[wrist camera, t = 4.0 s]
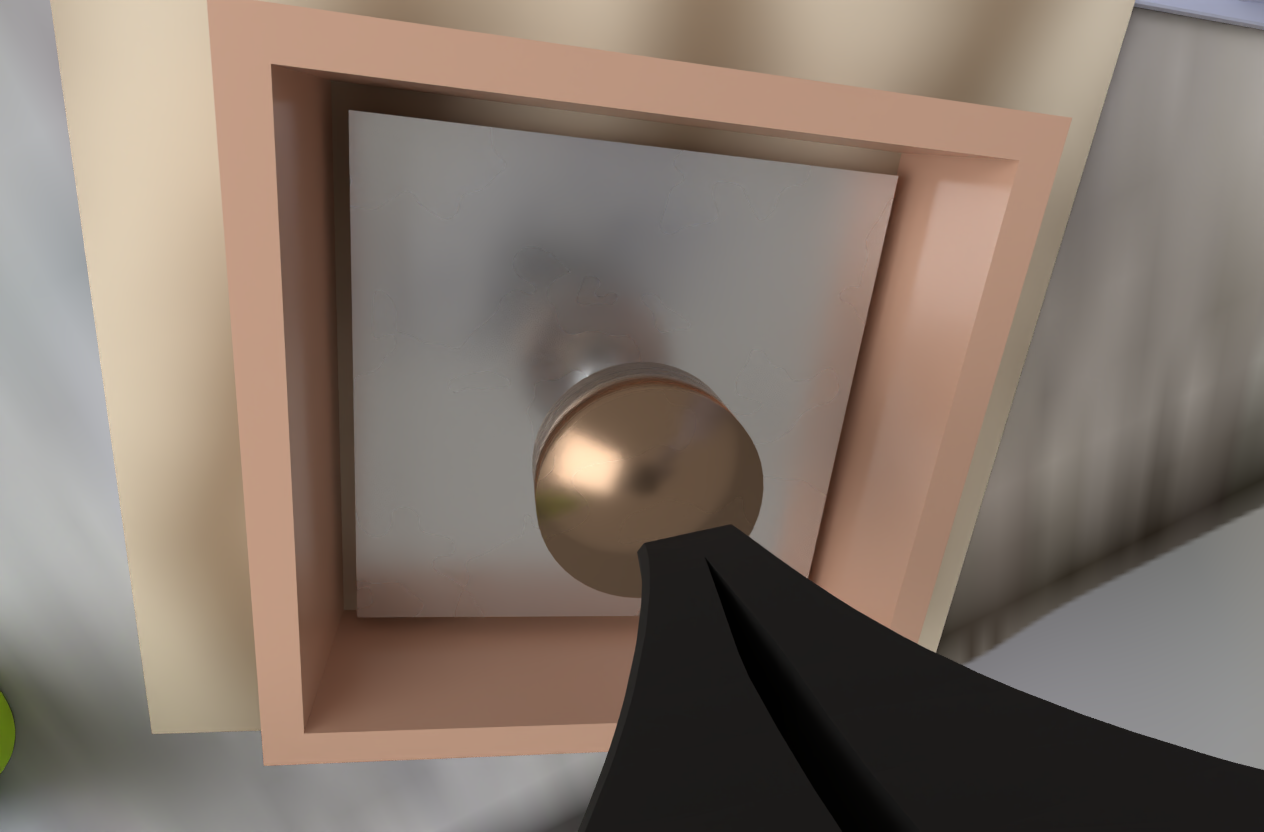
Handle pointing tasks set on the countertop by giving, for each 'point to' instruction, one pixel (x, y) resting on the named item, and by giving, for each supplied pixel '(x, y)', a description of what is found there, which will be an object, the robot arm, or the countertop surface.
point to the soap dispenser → (6, 732)
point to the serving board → (196, 258)
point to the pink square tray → (309, 396)
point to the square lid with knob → (589, 359)
